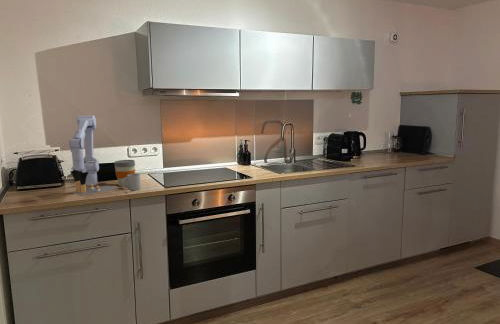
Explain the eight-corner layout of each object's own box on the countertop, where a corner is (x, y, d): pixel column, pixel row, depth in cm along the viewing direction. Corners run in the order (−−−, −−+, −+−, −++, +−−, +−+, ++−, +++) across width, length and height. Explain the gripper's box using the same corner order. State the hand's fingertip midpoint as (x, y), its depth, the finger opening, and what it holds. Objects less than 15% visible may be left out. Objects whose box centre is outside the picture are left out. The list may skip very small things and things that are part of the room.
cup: (141, 190, 218) (140, 175, 217) (123, 191, 214) (122, 176, 213) (140, 187, 225) (139, 173, 223) (123, 189, 221) (121, 174, 220)
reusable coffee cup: (139, 184, 233) (138, 161, 231) (120, 187, 225) (118, 163, 223) (131, 181, 243) (130, 159, 240) (112, 184, 234) (110, 161, 232)
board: (70, 194, 210) (69, 186, 209) (107, 187, 226) (106, 180, 225) (80, 198, 201) (80, 190, 200) (118, 190, 216) (118, 183, 216)
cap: (74, 192, 209) (73, 181, 208) (83, 190, 213) (82, 180, 212) (78, 193, 206) (77, 182, 205) (87, 191, 209) (86, 181, 208)
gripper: (65, 159, 208) (67, 183, 210) (76, 161, 199) (78, 186, 201) (78, 158, 213) (80, 181, 216) (89, 160, 204) (91, 184, 206)
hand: (80, 183), depth 208 cm, fingers open, 7 cm apart
